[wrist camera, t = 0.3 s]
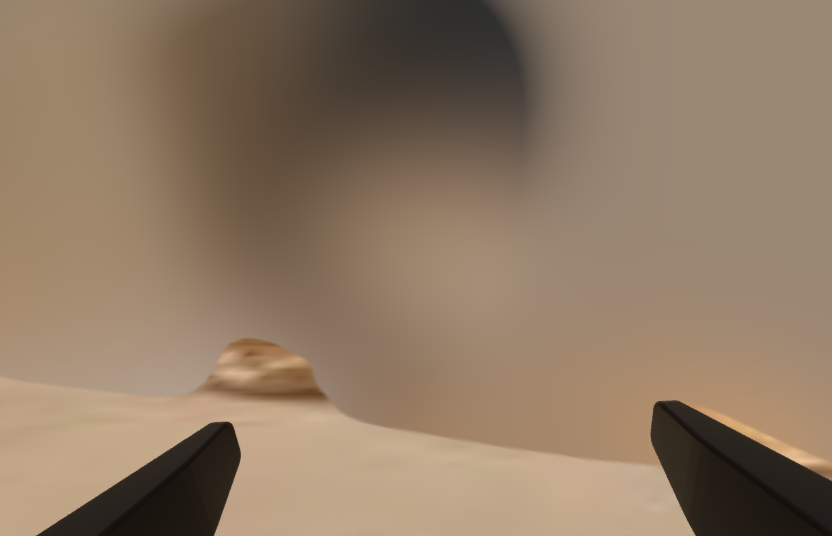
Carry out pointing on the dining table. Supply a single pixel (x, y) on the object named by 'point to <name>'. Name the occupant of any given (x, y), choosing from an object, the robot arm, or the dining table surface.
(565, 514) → the dining table surface
